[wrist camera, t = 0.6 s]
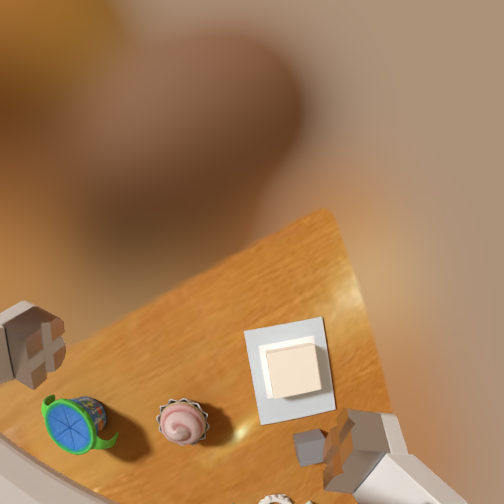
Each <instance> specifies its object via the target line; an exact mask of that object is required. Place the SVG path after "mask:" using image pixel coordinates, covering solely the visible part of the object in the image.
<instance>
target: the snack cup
mask: <svg viewBox="0 0 504 504" xmlns="http://www.w3.org/2000/svg"><path fill="white" fill-rule="evenodd" d="M41 411H42V415H43V416H44V418H45V425H46V428H47V431H48V433H49V435H50V437H51V438H52V440H53V441H54V442H55V443H56V444H57V445H58V446H59V447H60V448H61V449H63V450H65V451H66V452H69V453H71V454H76V455H80V454H84V453H86V452H88V451H89V450H91V449H107V448H110V447H112V446H114V444H115V442H116V439H117V436H118V432H117V433H116V434H115V435H114V436H113V437H112V438H111V439H110V440H103V439H101V438H99V437H98V436H99V434H100V433H101V431H102V430H103V428H104V427H105V425H106V421H107V420H106V413H105V410H104V409H103V406H102V405H101V404H100V403H99V402H98V401H97V400H95V399H93V398H89V397H79V398H73V399H68V400H67V399H60V400H56V401H55V395H49V396H48V397H46V398H45V399H44V400H43V403H42V409H41Z"/></svg>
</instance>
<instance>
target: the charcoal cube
mask: <svg viewBox="0 0 504 504" xmlns="http://www.w3.org/2000/svg"><path fill="white" fill-rule="evenodd" d="M293 438H294V444H295V450H296V456H297V459H298V461H299V464H300V466H301V467H303V466H307V465H312V464H316V463H320V462H324V461H323V446H324V443H325V437H324V436H323V434H322V433H321V431H320V430H319V429H315V430H311V431H307V432H302V433H297V434H293Z"/></svg>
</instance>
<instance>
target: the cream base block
mask: <svg viewBox="0 0 504 504" xmlns="http://www.w3.org/2000/svg"><path fill="white" fill-rule="evenodd" d="M265 354H266V359H267V365H268V371H269V377H270V383H271V388H272V394H273V396H274V399H277V398H283V397H288V396H293V395H298V394H302V393H307V392H311V391H316V390H320V389H321V385H320V378H319V371H318V365H317V358H316V352H315V345H314V344H312V343H311V342H307V343H302V344H297V345H292V346H287V347H281V348H276V349H271V350H265Z"/></svg>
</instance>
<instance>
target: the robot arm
mask: <svg viewBox="0 0 504 504" xmlns="http://www.w3.org/2000/svg"><path fill="white" fill-rule="evenodd" d="M64 331H65V330H64V322H63V321H62V320H61V319H60V318H59V317H57V316H55V315H53V314H51V313H49V312H47V311H45V310H44V309H42V308H40V307H37V306H36V305H34V304H32V303H30V302H28V301H22V302H20V303H18V304H16V305H14V306H13V307H10V308H9V309H7V310H5V311H3V312H1V313H0V383H4V382H7V381H10V380H14V378H15V379H16V380H18V381H20V382H21V383H23V384H25V385H26V386H28V387H30V388H31V389H33V390H35V389H36V388H37V387H38V386H39V385H40V384H41V383H43V382H44V381H45V380H46V379H47V373H49V372H53V371H56V370H57V369H58V368H59V367H60V366H61V364H62V362H63V360H64V358H65V353H66V347H65V343H64V341H63V339H62V337H61V336H62V334H63V333H64ZM323 461H324V462H325V463H326V464H327V467H326V468H325V470H324V471H323V485H324V490H325V491H333V492H341V493H351V494H353V496H354V498H355V499H356V501H357V502H358V504H468V503H467V501H466V500H464V499H463V498H462V497H461V496H460V495H459V494H457V493H456V492H455V491H454V490H453V489H452V488H451V487H449V486H448V485H447V484H446V483H445V482H444V481H442V480H441V479H440V478H439V477H438V476H437V475H436V474H434V473H433V472H432V471H431V470H430V469H429V468H428V467H426V466H425V465H424V464H423V463H422V462H421V461H420V460H419V459H417V458H416V457H415V456H414V455H409V454H408V450H407V447H406V444H405V441H404V438H403V435H402V431H401V428H400V425H399V423H398V420H397V417H396V416H395V415H394V414H389V413H379V412H378V413H375V412H368V411H361V410H354V409H348V408H343V409H342V410H341V411H340V413H339V415H338V417H337V426H335V427H334V428H332V429H330V431H329V433H328V435H327V437H326V440H325V443H324V446H323ZM0 504H120V503H118V502H115V501H113V500H111V499H109V498H107V497H105V496H103V495H100V494H98V493H96V492H94V491H92V490H90V489H88V488H86V487H85V486H83V485H81V484H79V483H77V482H75V481H73V480H72V479H70V478H68V477H66V476H64V475H63V474H61V473H59V472H58V471H56V470H54V469H53V468H51V467H49V466H48V465H46V464H45V463H43V462H41V461H40V460H38V459H37V458H35V457H34V456H32V455H31V454H29V453H28V452H26V451H25V450H23V449H22V448H21V447H19V446H18V445H16V444H15V443H14V442H12V441H11V440H9V439H8V438H7V437H5V436H4V435H3V434H2V433H0Z"/></svg>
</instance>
